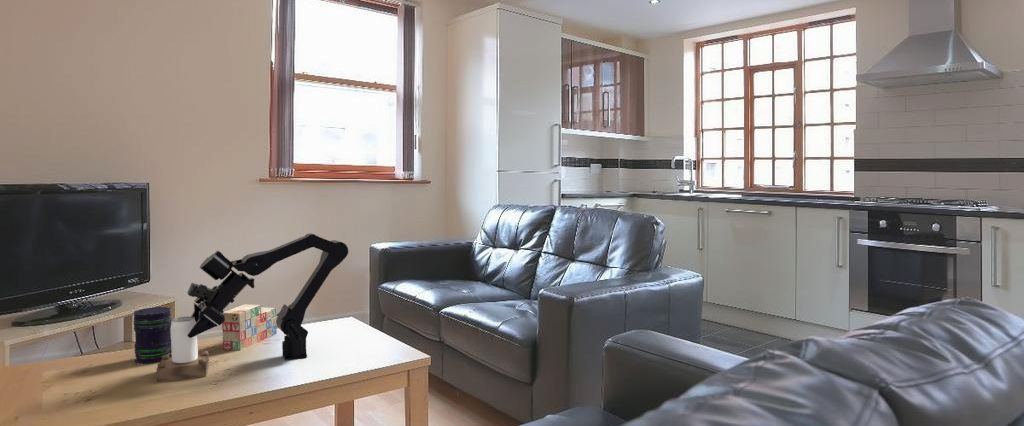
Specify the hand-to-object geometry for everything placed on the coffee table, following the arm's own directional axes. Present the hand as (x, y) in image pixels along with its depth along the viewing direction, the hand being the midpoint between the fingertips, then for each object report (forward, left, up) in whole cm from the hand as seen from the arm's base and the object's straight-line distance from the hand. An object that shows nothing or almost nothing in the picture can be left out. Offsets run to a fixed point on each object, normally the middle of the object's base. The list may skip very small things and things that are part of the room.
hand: (186, 333), depth 176 cm
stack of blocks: (-16, -29, -12) cm, 35 cm away
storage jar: (+11, -18, -12) cm, 24 cm away
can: (+1, 0, -8) cm, 8 cm away
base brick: (+1, 0, -11) cm, 11 cm away
